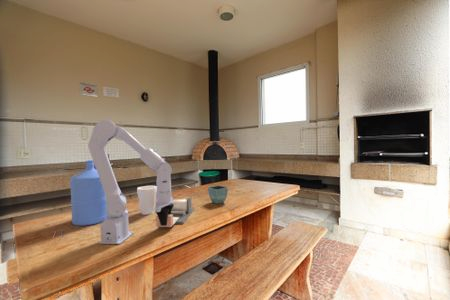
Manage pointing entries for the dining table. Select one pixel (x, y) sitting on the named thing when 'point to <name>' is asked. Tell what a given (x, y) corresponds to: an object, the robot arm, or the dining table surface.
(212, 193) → the flower pot
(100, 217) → the water jug
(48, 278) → the dining table surface
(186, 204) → the dispenser
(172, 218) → the pink rectangular block
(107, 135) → the robot arm
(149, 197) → the foam cup
